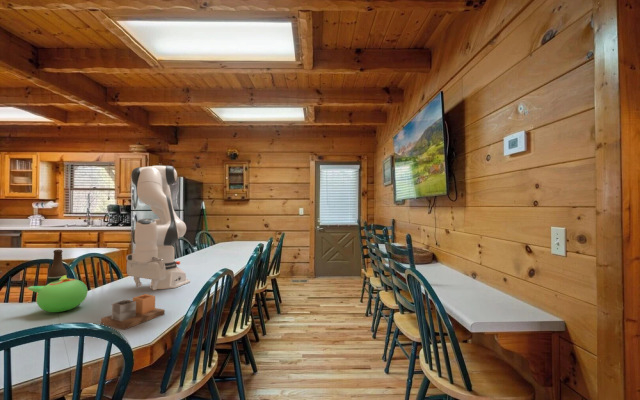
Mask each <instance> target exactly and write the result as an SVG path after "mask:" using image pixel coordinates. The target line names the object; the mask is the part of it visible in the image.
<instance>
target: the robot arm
mask: <svg viewBox="0 0 640 400" xmlns="http://www.w3.org/2000/svg"><path fill="white" fill-rule="evenodd" d="M177 172H178V171H177V170H176V168H175V167H174V166H173V165H152V166H151V165H149V166H142V167H135V168H133V169H132V170H131V175H130V180H131V182H132V184H133V185H134V186H135V187H137V188H136V194H137V197H138V199H139V201H140V202H141V203H143V204H144V205H147V206H150V210H151V212H153V213H154V214H155V215H157V217H158V218H153V219H152V218H141V219H138V220H137V221H136V224H135V227H134V229H133V231H132V243H134V244H135V246H134V252H133V253H131V254H126V257H125V258H126V259H125V260H126V274H127V276H128V277H132V278H133V281H134V283H135V287H136V288H141V287H142V286H143V284H142V283H143V282H142V281H141V279H145V280H151V281H150V284H149V289H150V290H153V291H154V290H156V291H157V290H166V289H176V288H178V287H181V286H184V285H186V284H189V283H191V280H190V279H189V278H187V275H186V272H185V271H184V270H182V269H180V268H179V267H178V266H179V265H181V261H178V260H177V261H175V247H174V246H173V245H175V244H176V243H177V242H178V241H179V239H180V238H182V237H184V236H185V234H186V232H187V225H186V223H185V221H183V220H181V219H180V217H178V214H177V213H176V211H175V210H174V207H173V199H172V193H171V188H170V187H172V185H174V184H175V183H176V182H177V179H178V173H177Z"/></svg>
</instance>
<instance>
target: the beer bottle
mask: <svg viewBox="0 0 640 400" xmlns="http://www.w3.org/2000/svg"><path fill="white" fill-rule="evenodd" d="M52 258H53V259H52V266H51V267H50V268H49V270H48V272H47V284H49V283H51V282H54V281H57V280H59V279H60V278H61V277H62V276H64V275H66V276H67V277H68V270H67V269H66V267H65V266H64V264H63V263H64V262H63V249H55V250H53V257H52Z"/></svg>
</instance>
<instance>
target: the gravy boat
mask: <svg viewBox="0 0 640 400" xmlns="http://www.w3.org/2000/svg"><path fill="white" fill-rule="evenodd" d="M27 290H29V291H31V292H35V293H37V295H36V304H37V305H38V307H39V309H41V310H43V311H45V312H48V313H61V312H66V311H70V310H72V309H74V308H76V307H78V306H79V305H81V304H82V303H83V302H84V301H85V300H86V298H87V295H88V286H87V284H85V282H83V281H81V280H79V279H77V278H68V275H67V276H66V275H64V276H62V277H61V278H60V279H59V280H57V281H54V282H51V283H49V284H48V283H46V285H31V286H28V287H27Z"/></svg>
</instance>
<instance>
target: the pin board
mask: <svg viewBox="0 0 640 400" xmlns="http://www.w3.org/2000/svg"><path fill="white" fill-rule="evenodd" d="M163 315H165V309H162V308H157V307H155V310H152V311H149V312H146V313H144V314H140V313H136V302H135V301H133V300H129V299H124V300H120V301H117V302H113V303H111V314H110V315H107V316H105V317H102V318H100V324H101V323H104V324H103V325H105V326H109V325H110V326H109V327H113V328H117V329H121V330H126V329H129V328H133V327H134V326H137V325H140V324H143V323H146V322H147V321H151V320H154V319H156V318H158V317H162V316H163Z"/></svg>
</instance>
